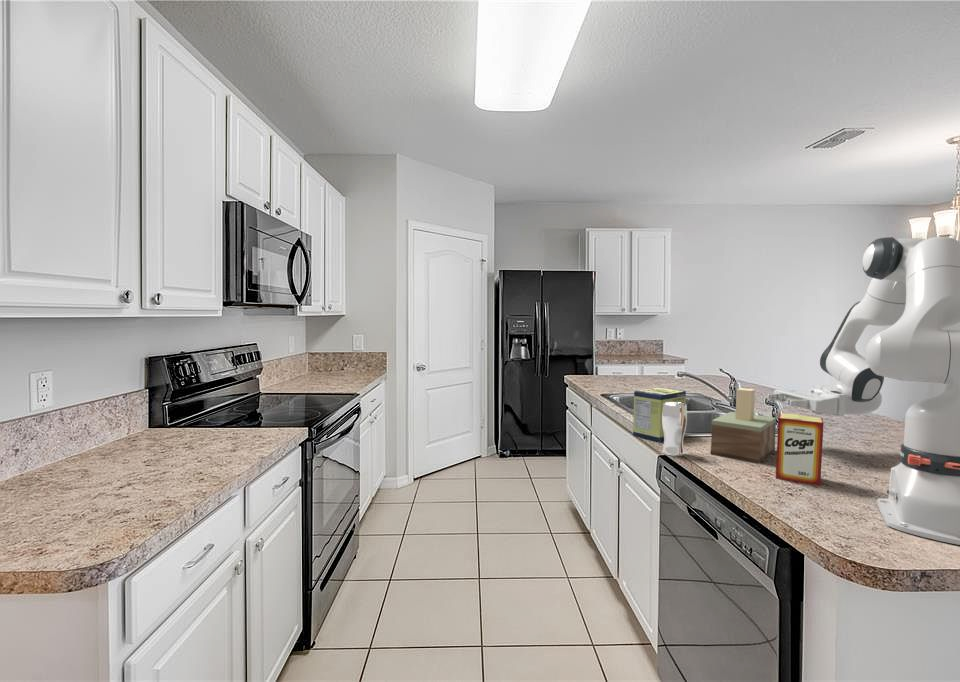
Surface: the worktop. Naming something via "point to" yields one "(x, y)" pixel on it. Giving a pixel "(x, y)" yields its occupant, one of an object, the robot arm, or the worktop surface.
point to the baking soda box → (799, 448)
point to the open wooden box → (743, 443)
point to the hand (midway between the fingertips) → (778, 400)
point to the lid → (744, 414)
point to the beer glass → (674, 427)
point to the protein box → (652, 411)
